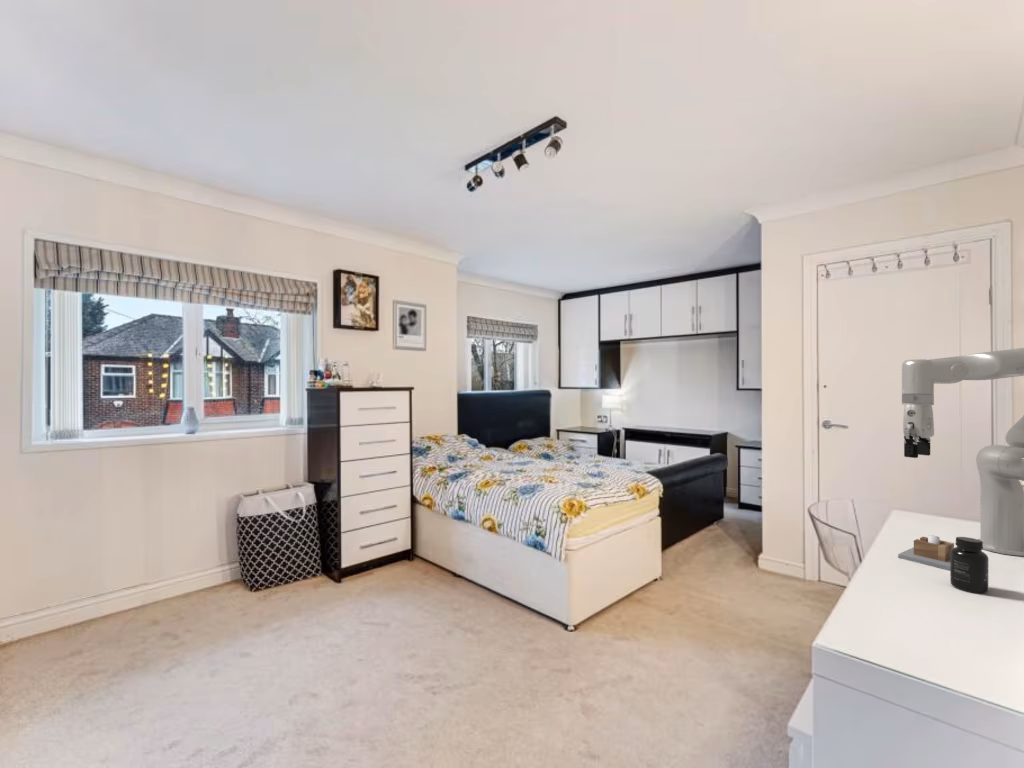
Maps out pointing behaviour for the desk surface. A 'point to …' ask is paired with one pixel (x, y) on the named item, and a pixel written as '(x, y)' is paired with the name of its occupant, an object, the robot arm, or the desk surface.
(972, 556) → the supplement bottle
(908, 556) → the post base
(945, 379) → the robot arm
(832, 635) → the desk surface
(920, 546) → the wooden arch block
